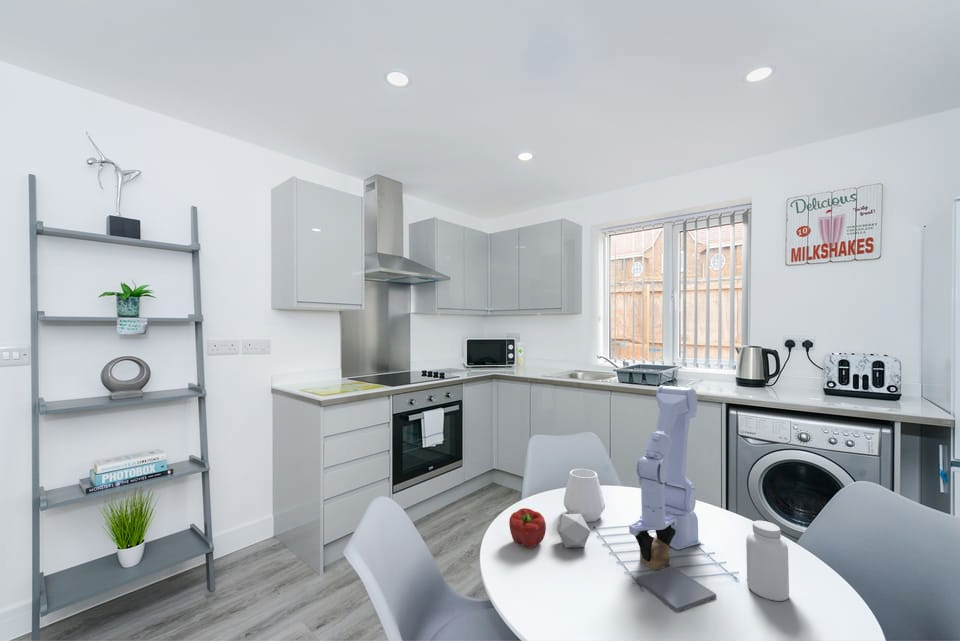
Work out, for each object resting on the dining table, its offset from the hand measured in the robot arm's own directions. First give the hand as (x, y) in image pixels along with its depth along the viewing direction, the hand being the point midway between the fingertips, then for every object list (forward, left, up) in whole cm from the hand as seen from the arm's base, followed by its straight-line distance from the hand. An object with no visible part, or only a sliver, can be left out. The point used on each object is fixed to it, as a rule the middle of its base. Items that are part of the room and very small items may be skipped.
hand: (654, 557), depth 106 cm
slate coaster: (+4, +10, -1) cm, 11 cm away
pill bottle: (-15, +19, -2) cm, 24 cm away
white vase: (0, -30, -2) cm, 30 cm away
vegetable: (+26, -21, -2) cm, 33 cm away
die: (+14, -16, -2) cm, 21 cm away
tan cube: (0, 0, -1) cm, 1 cm away
